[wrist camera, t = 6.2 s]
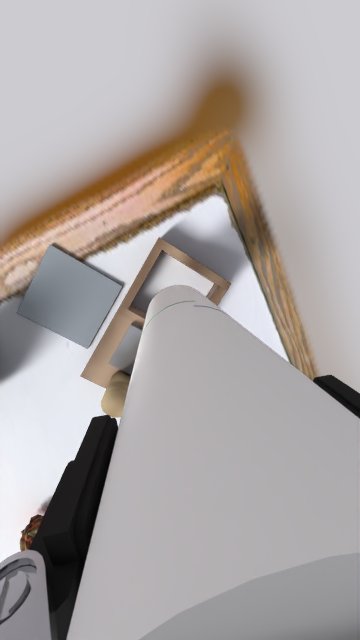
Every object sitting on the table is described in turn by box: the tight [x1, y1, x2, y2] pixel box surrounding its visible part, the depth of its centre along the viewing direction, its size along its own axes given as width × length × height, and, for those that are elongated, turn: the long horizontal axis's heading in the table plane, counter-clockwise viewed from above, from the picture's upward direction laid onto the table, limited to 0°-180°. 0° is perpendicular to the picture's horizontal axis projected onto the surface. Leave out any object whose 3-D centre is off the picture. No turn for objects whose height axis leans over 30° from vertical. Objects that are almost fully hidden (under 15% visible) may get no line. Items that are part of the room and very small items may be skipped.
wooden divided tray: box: [81, 237, 231, 417], centre depth 36 cm, size 12×24×10 cm, turn 148°
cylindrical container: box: [66, 285, 360, 640], centre depth 15 cm, size 7×7×25 cm
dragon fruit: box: [20, 514, 44, 551], centre depth 47 cm, size 8×8×12 cm
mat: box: [17, 245, 123, 349], centre depth 39 cm, size 12×12×1 cm
